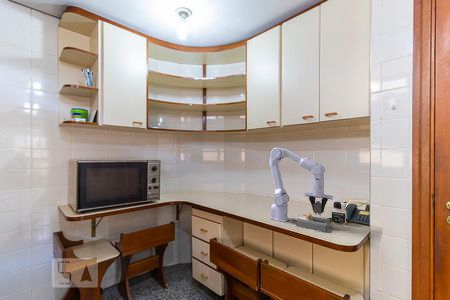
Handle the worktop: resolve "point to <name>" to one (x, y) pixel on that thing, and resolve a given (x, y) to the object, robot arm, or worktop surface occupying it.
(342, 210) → the medicine bottle
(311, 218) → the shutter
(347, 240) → the worktop surface
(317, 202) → the plug
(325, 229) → the socket
